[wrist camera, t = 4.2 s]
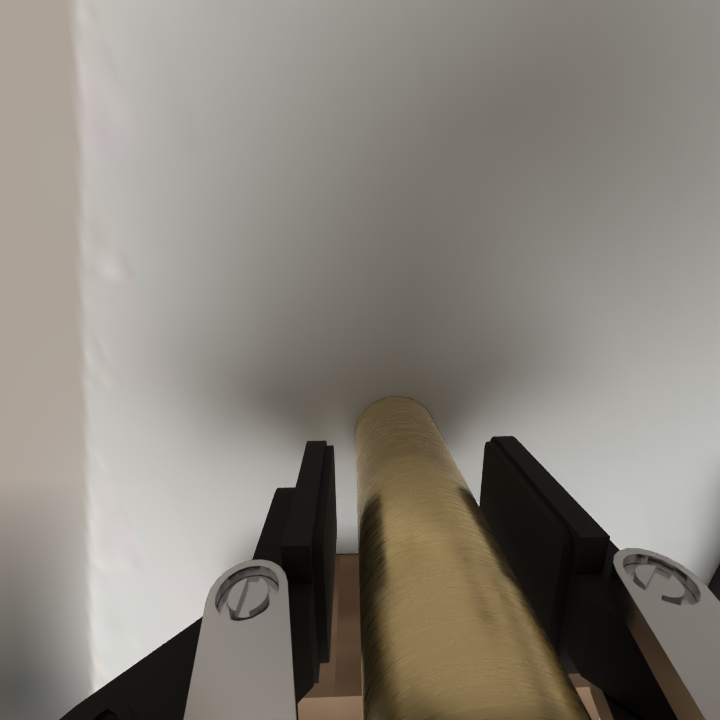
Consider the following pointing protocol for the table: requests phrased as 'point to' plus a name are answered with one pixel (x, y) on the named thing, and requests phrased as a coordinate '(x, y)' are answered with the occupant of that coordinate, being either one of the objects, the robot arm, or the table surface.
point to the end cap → (715, 584)
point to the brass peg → (441, 589)
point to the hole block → (343, 673)
